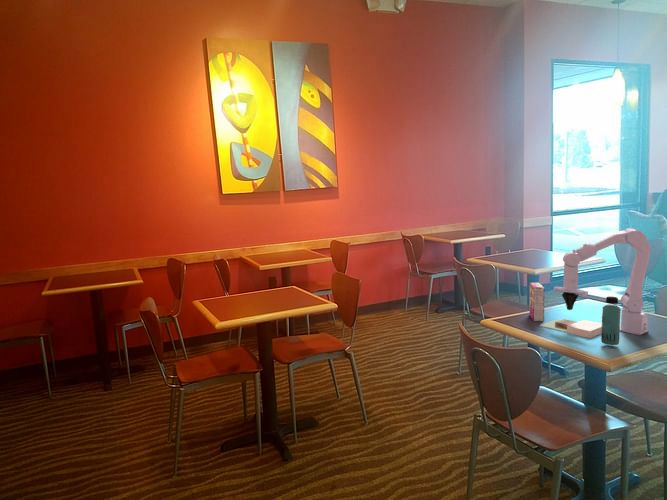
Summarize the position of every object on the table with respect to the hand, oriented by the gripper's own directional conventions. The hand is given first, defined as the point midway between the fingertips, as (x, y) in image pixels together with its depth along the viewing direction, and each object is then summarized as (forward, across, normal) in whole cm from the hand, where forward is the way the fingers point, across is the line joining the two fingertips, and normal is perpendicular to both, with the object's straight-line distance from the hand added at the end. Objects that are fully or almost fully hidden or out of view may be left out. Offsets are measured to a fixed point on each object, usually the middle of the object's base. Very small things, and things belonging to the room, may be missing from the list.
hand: (569, 309), depth 217 cm
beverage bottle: (+9, +23, -11) cm, 27 cm away
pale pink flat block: (+8, +8, 0) cm, 12 cm away
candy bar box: (+9, -18, +3) cm, 20 cm away
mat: (+8, -4, 0) cm, 9 cm away
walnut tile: (+8, -1, 0) cm, 8 cm away
